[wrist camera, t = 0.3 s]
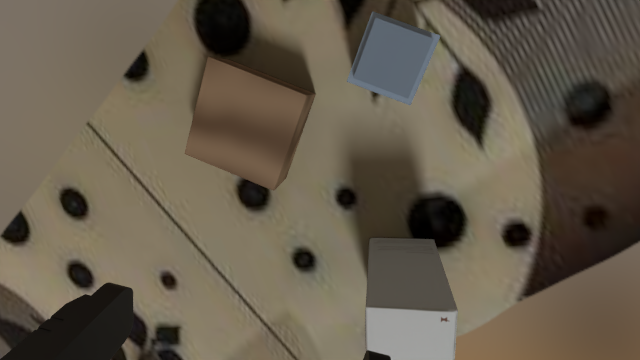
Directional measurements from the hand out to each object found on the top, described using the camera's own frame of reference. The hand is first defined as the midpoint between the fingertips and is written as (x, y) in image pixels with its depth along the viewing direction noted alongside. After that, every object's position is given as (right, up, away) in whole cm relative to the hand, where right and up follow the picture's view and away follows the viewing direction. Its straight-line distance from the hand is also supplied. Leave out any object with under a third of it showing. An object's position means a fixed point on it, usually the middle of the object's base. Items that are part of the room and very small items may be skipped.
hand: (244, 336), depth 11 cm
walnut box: (-4, +12, +27) cm, 29 cm away
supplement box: (+12, -5, +29) cm, 31 cm away
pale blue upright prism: (+9, +17, +23) cm, 29 cm away
